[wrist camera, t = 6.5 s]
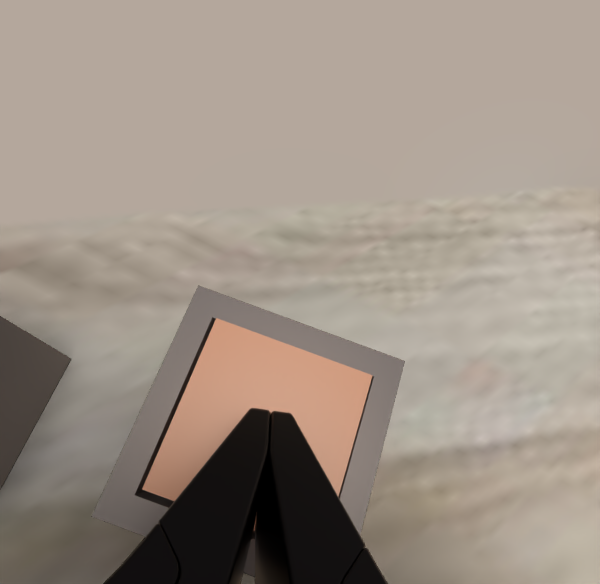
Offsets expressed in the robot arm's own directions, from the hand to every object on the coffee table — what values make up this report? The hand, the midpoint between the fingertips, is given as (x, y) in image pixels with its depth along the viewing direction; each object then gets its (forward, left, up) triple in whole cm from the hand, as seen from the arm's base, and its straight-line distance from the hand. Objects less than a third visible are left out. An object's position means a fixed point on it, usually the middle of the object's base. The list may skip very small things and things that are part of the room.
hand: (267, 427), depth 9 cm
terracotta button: (0, 0, -4) cm, 4 cm away
